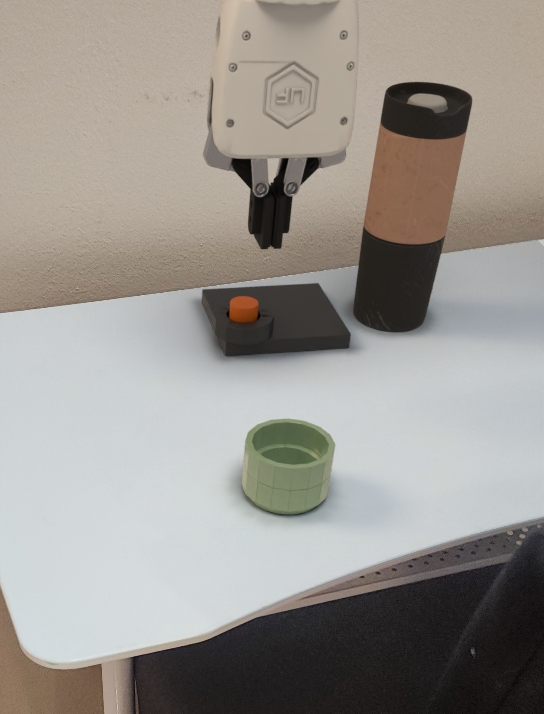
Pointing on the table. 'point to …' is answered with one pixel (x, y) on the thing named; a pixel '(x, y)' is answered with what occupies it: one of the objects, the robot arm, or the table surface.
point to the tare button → (243, 309)
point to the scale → (277, 320)
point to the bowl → (287, 465)
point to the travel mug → (409, 202)
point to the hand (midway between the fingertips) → (267, 241)
